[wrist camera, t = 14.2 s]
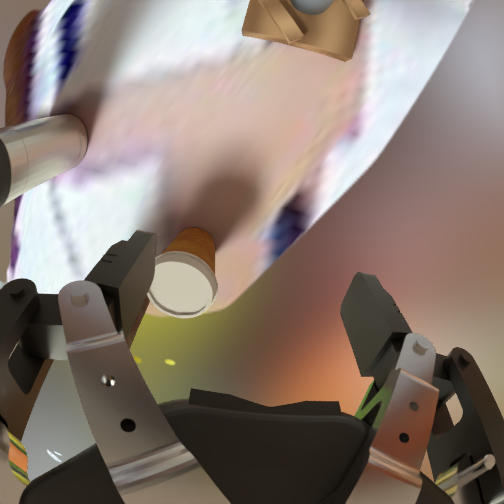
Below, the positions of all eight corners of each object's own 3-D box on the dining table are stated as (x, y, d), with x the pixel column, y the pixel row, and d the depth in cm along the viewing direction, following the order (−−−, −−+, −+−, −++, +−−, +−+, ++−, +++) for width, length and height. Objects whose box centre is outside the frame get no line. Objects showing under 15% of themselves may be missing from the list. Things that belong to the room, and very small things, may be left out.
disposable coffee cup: (159, 258, 45) (135, 304, 35) (176, 207, 41) (151, 245, 31) (212, 279, 47) (201, 330, 37) (235, 232, 43) (229, 276, 32)
